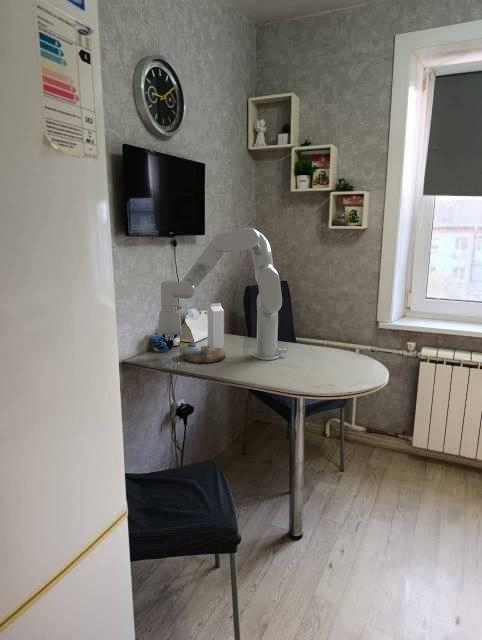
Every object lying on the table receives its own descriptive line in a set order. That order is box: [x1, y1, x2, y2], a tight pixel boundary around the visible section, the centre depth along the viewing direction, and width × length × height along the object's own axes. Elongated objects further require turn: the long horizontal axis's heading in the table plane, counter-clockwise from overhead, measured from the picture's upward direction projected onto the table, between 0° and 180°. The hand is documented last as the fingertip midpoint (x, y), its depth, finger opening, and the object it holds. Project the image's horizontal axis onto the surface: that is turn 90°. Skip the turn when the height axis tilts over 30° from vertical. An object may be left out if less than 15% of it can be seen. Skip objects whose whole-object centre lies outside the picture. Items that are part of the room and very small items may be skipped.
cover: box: [182, 343, 202, 355], centre depth 197 cm, size 8×8×4 cm
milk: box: [207, 302, 225, 349], centre depth 214 cm, size 6×6×22 cm
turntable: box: [181, 346, 227, 364], centre depth 199 cm, size 20×20×2 cm
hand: (169, 348), depth 196 cm, fingers closed
